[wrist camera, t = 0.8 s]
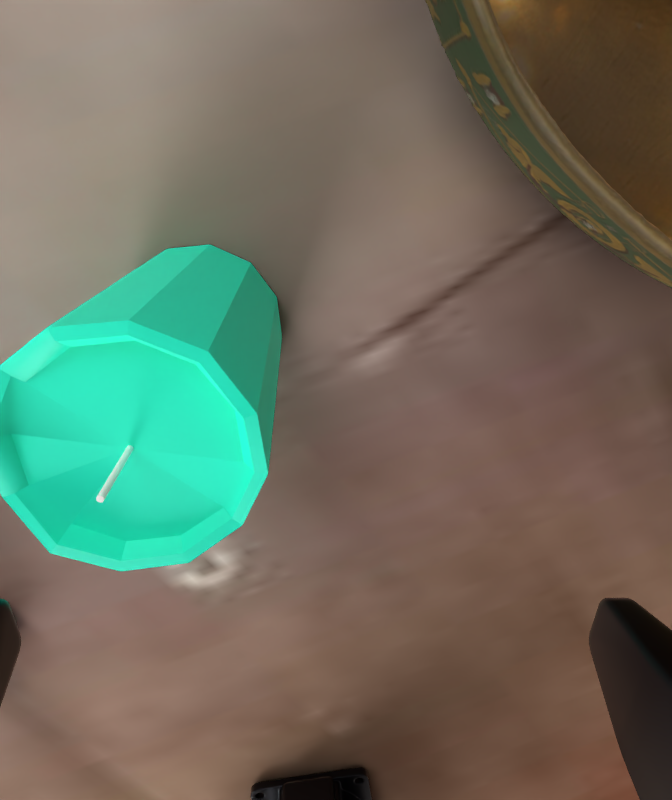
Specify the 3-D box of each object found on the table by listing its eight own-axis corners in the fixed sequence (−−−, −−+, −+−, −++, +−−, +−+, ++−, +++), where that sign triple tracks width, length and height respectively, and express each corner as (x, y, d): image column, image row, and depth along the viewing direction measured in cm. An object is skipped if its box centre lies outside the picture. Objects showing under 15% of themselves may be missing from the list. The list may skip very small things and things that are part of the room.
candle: (244, 218, 20) (176, 288, 9) (306, 367, 22) (311, 569, 11) (91, 278, 21) (-153, 414, 9) (166, 418, 23) (41, 660, 12)
